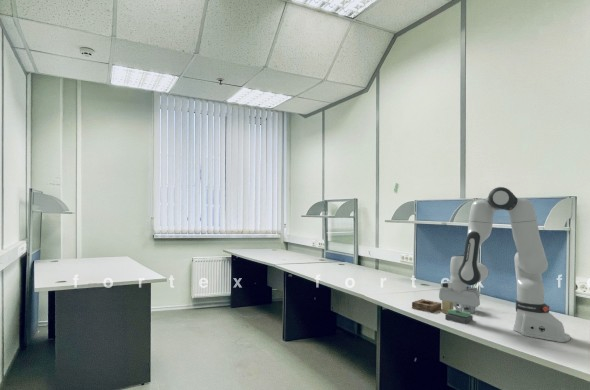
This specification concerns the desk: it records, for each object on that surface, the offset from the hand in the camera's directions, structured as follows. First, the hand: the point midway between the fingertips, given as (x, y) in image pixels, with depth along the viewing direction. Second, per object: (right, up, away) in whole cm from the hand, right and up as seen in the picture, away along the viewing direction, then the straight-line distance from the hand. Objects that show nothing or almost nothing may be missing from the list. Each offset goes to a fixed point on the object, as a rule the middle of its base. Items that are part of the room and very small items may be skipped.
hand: (458, 312), depth 196 cm
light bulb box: (+13, -6, +19) cm, 24 cm away
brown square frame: (-9, -5, +21) cm, 24 cm away
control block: (0, -4, 0) cm, 4 cm away
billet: (0, -5, +13) cm, 14 cm away
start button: (0, -3, 0) cm, 3 cm away
